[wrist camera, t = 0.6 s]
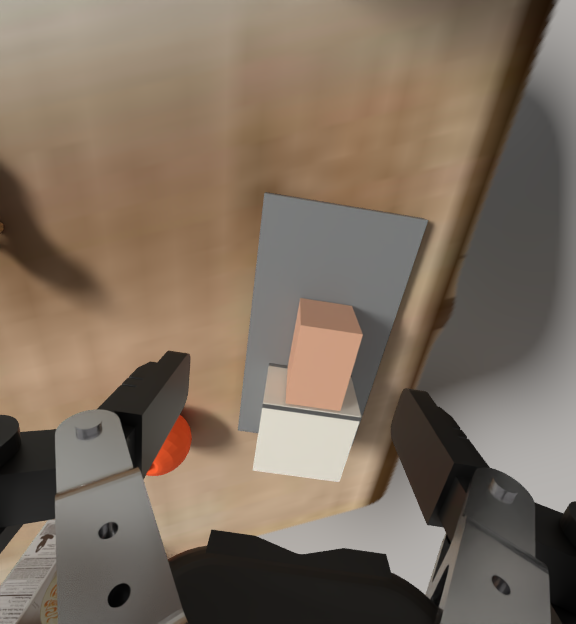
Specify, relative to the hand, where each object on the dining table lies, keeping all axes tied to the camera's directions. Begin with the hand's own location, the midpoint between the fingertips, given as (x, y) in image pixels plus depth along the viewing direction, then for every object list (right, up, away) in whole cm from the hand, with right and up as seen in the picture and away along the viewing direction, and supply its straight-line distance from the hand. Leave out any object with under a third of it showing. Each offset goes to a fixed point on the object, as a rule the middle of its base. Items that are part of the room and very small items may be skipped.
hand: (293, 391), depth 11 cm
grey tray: (+3, 0, +21) cm, 21 cm away
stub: (+3, 0, +20) cm, 20 cm away
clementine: (-15, -10, +27) cm, 33 cm away
